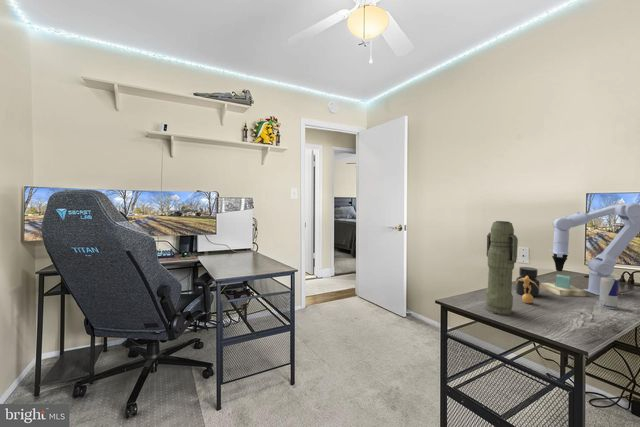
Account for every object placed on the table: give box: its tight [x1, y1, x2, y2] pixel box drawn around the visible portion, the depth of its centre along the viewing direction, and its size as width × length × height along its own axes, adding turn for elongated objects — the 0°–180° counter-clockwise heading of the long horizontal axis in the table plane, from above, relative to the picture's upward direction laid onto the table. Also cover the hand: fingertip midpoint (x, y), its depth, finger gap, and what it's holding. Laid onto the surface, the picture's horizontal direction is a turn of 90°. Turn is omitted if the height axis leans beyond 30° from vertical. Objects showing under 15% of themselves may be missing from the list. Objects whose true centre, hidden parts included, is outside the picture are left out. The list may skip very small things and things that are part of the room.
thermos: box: [485, 220, 519, 316], centre depth 113 cm, size 9×12×35 cm
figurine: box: [515, 276, 540, 304], centre depth 122 cm, size 8×6×12 cm
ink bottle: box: [515, 266, 541, 298], centre depth 134 cm, size 10×9×12 cm
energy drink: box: [598, 277, 620, 310], centre depth 119 cm, size 5×5×12 cm
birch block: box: [540, 282, 588, 297], centre depth 139 cm, size 12×12×3 cm
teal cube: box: [554, 274, 572, 289], centre depth 139 cm, size 5×5×5 cm
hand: (559, 269), depth 144 cm, fingers open, 7 cm apart
